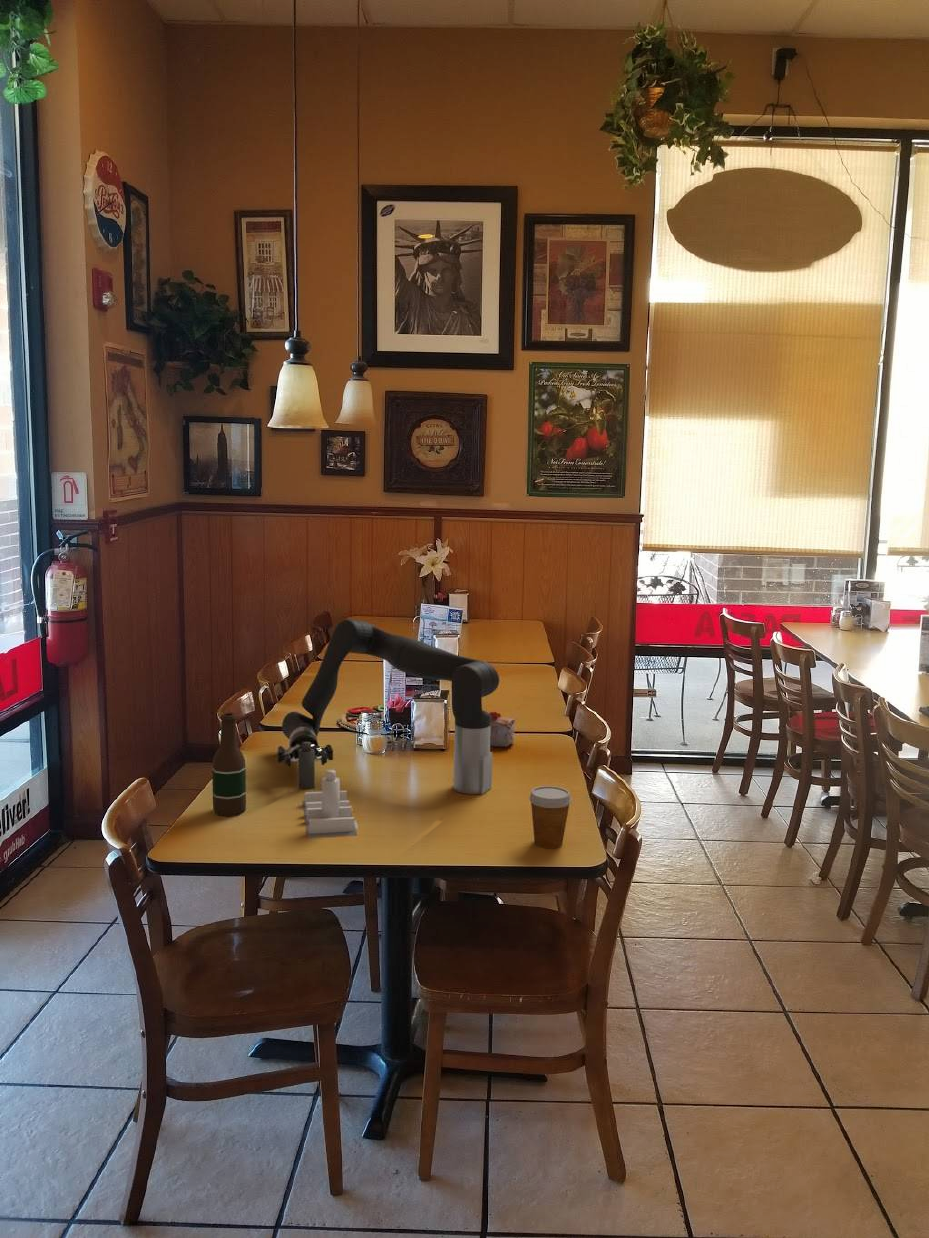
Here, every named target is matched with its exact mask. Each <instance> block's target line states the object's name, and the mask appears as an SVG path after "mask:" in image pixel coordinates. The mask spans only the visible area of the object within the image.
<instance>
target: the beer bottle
mask: <svg viewBox="0 0 929 1238" xmlns="http://www.w3.org/2000/svg"><path fill="white" fill-rule="evenodd" d="M219 719H220V720H221V721H220V722H221V725H220V742H219V746H218V748H217V750H216V751H215V753H214V755H213V758H212V766H211V771H212V772H211V773H212V775H211V777H212V809H213V812H214V813H215V815H217V817H218V816H220V817H226V818H229V817H235V816H240V815H241V814H243V813H244V812H246V810H247V809H246V808H247V807H246V806H247V787H246V786H247V784H246V782H247V781H246V779H247V775H246V773H247V771H246V768H247V766H246V759H245V756H244V754H243V752H242V751H241V749H240V748H239V745H238V740H237V739H238V737H237V727H236V726H237V725H236V720H237V715H236V714H235V713H232V712H225V713H222V714H221V715H220V718H219Z"/></svg>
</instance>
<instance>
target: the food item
mask: <svg viewBox="0 0 929 1238" xmlns="http://www.w3.org/2000/svg"><path fill="white" fill-rule="evenodd" d="M488 713H489V714H490V716H491V728H490V748H491V747H498V748H507V747H509V746H511V745H512V744H514V742H515V726H516V721H517V720H516V718H512V717H511V718H510V717H509V718H508V717H501V716H502V714H501V713H500V712H496V711H490V712H488Z"/></svg>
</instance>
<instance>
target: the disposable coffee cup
mask: <svg viewBox="0 0 929 1238" xmlns="http://www.w3.org/2000/svg"><path fill="white" fill-rule="evenodd" d="M528 798H529V801H530V805H531V815H532V816H531V817H532V828H533V837H534V838H533V839H534V844H535V846H537V847H540V848H543V849H556V848H557V849H558V848H560V847H561V846H563V842H564V837H565V830H566V827H567V826H566V823H567V819H568V814H569V809H570V804H571V802H572V801H573V800H572V799H573V798H572V796H571V793H570V791H569V790H568V789H566V788H564V787H560V786H553V785H542V786H537V787H534V788H532V789H531V792H530V794H529V795H528Z"/></svg>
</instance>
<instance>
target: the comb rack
mask: <svg viewBox="0 0 929 1238" xmlns="http://www.w3.org/2000/svg"><path fill="white" fill-rule="evenodd" d="M301 801H302V809H303V815H304V822H305V829H306V836H307V839H316V838H335V837H353V836H355V837H356V836H358V833H357V830H358V829H359V826H358V823H357V820H355V816H353V813H352V812H354V808H353V805H352V803H351V802H350V799H348V791H347V790H340V799H339V818H323V819H322V791H306V792H304V800H301ZM350 803H351V804H350Z"/></svg>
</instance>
